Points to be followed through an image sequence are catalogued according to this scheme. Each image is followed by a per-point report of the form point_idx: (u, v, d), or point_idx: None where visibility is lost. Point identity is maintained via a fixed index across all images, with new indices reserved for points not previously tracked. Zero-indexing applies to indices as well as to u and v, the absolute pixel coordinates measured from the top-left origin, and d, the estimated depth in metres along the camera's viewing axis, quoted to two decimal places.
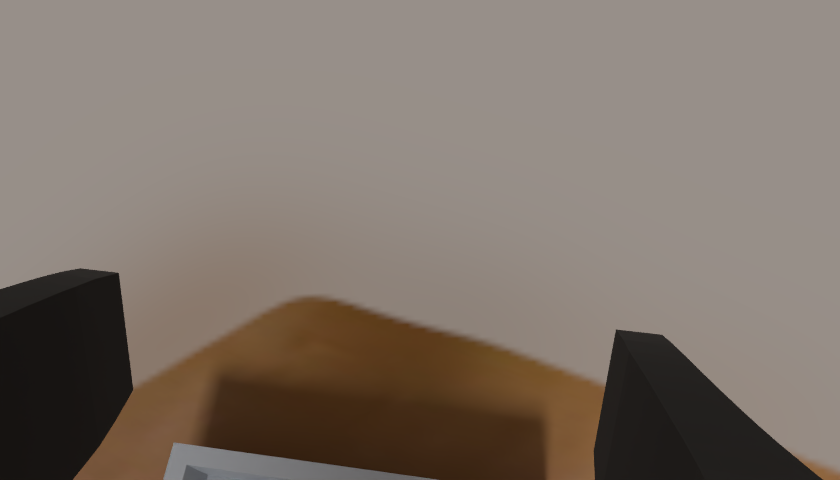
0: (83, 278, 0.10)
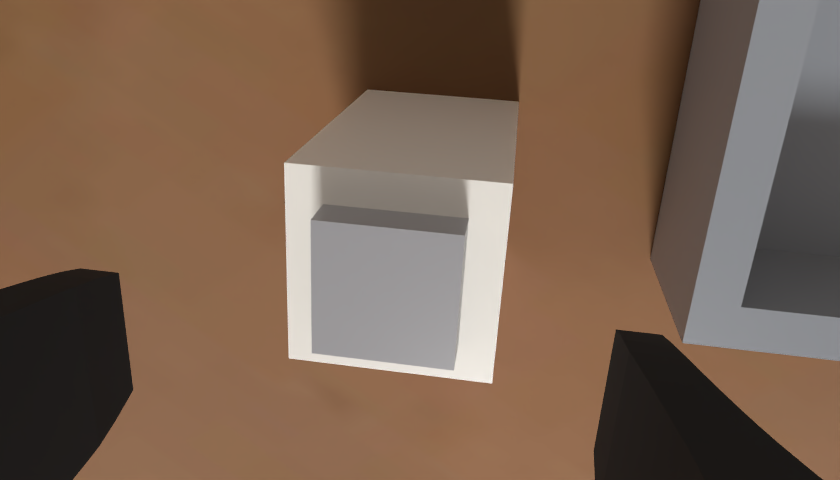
0: (83, 278, 0.10)
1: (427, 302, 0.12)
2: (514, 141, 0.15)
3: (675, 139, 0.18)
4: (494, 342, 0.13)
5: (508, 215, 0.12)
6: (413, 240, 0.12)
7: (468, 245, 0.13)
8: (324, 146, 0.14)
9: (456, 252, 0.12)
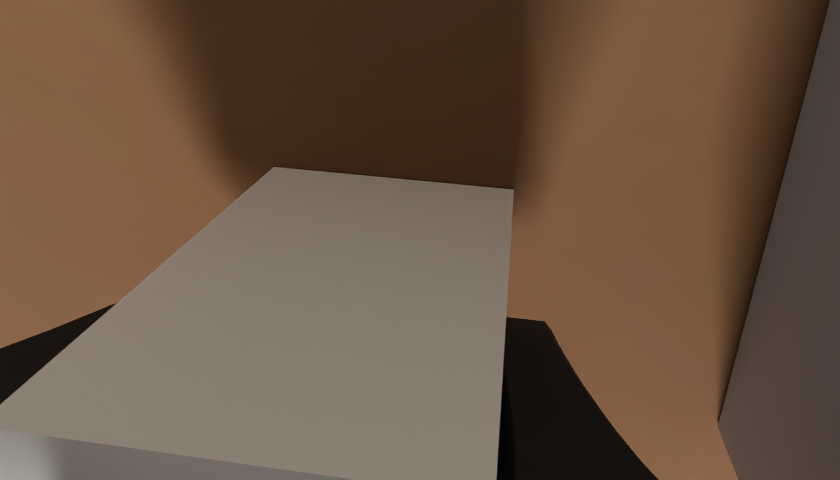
0: None
1: None
2: (503, 310, 0.08)
3: (768, 254, 0.11)
4: None
5: None
6: None
7: None
8: (111, 346, 0.07)
9: None
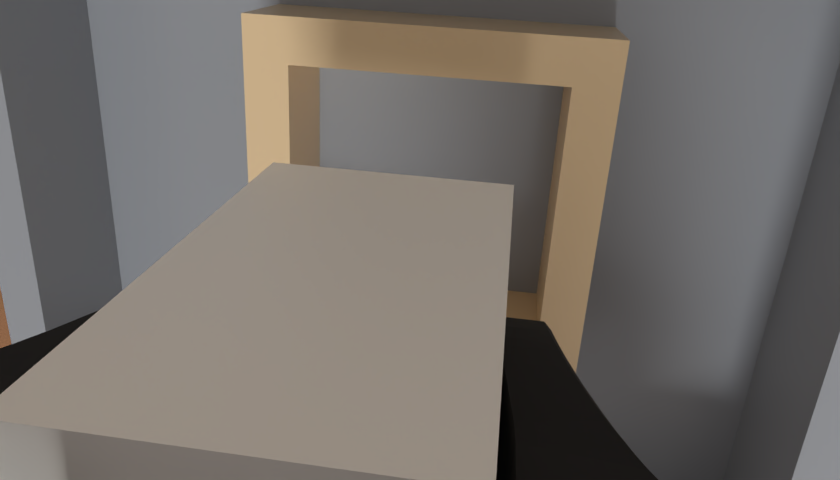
0: None
1: None
2: (503, 304, 0.08)
3: None
4: None
5: None
6: None
7: None
8: (108, 339, 0.07)
9: None
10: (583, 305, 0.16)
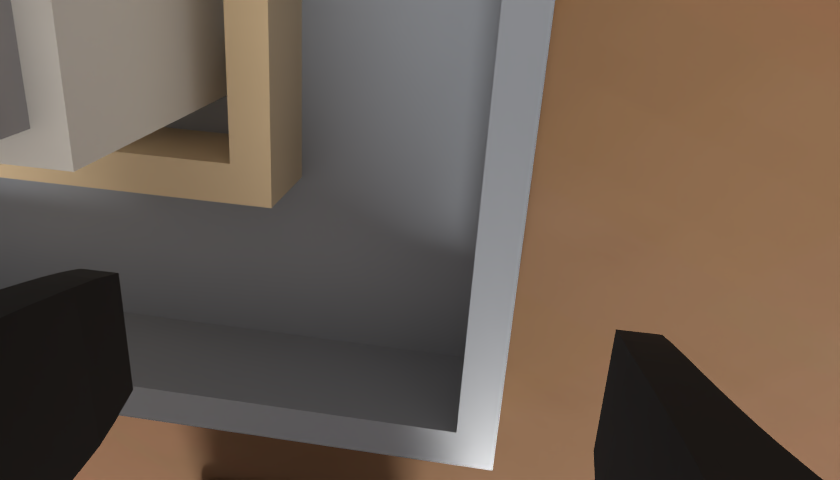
0: (83, 278, 0.10)
1: None
2: None
3: None
4: (64, 120, 0.12)
5: None
6: None
7: (13, 0, 0.11)
8: None
9: None
10: (267, 123, 0.16)
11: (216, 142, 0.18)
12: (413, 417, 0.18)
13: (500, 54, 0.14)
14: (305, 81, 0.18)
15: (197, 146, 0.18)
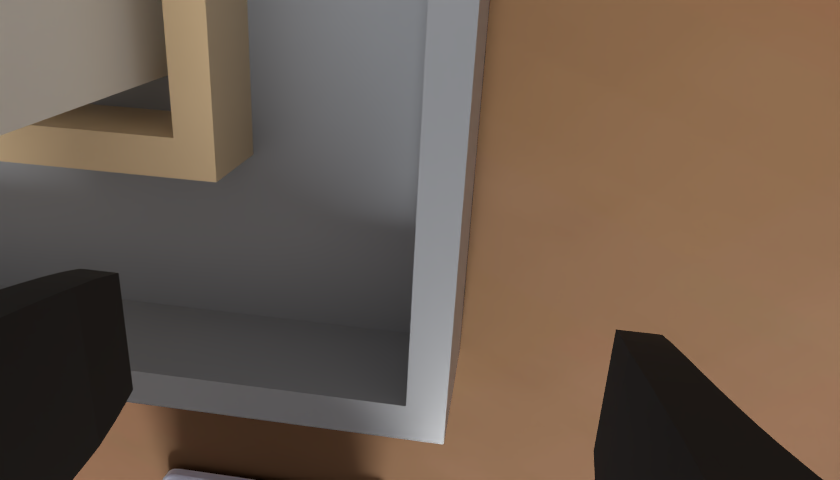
0: (83, 278, 0.10)
1: None
2: None
3: None
4: None
5: None
6: None
7: None
8: None
9: None
10: (208, 96, 0.16)
11: (164, 119, 0.18)
12: (364, 392, 0.18)
13: (431, 18, 0.14)
14: (253, 57, 0.18)
15: (144, 122, 0.18)
